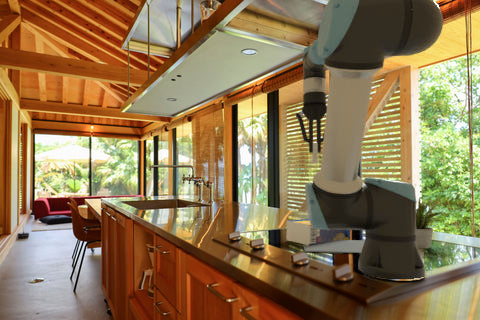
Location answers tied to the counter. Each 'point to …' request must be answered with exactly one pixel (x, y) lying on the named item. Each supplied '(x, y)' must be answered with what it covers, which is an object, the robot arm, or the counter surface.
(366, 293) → the counter surface
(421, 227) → the house plant
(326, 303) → the counter surface
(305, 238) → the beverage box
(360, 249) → the light grey flat slab
